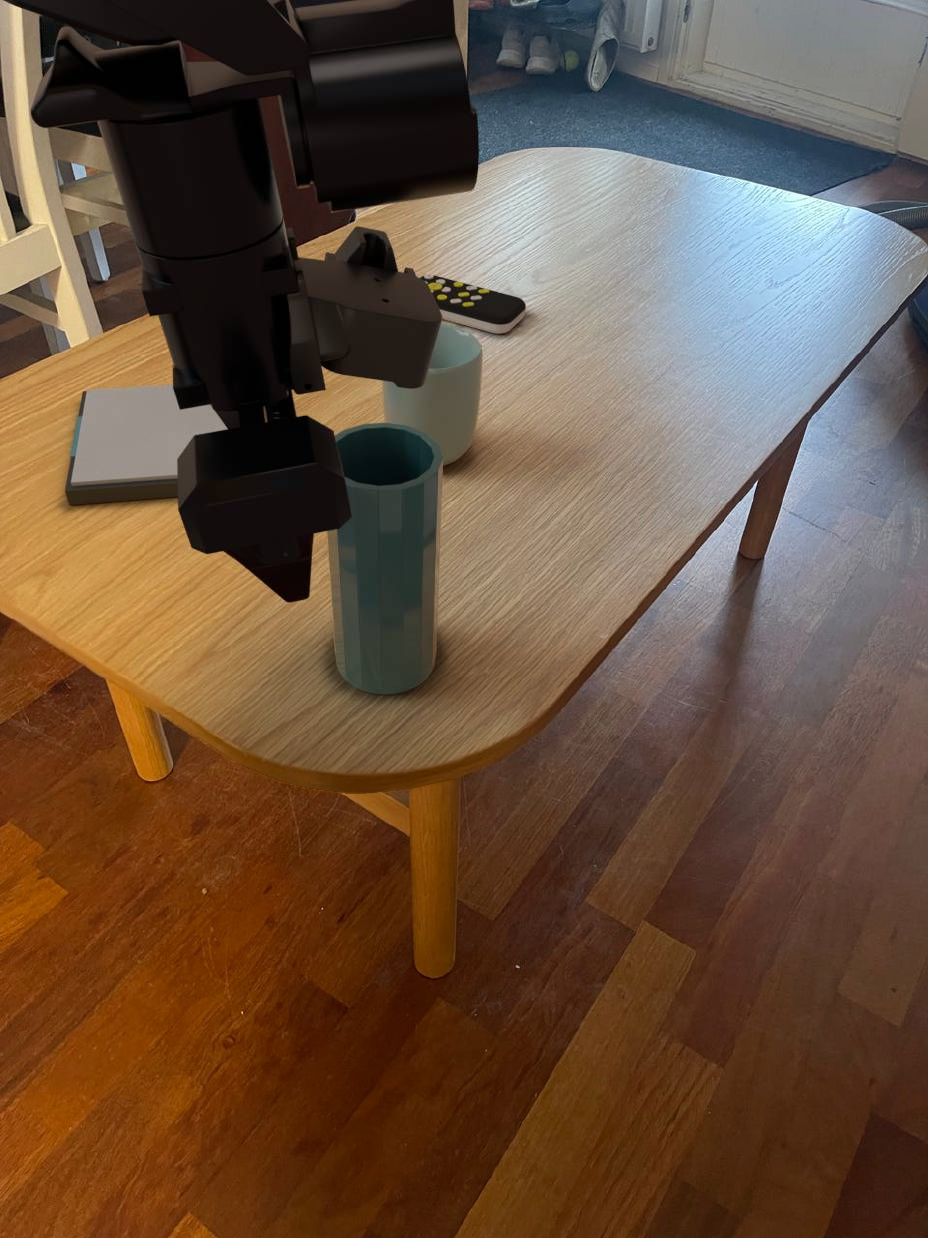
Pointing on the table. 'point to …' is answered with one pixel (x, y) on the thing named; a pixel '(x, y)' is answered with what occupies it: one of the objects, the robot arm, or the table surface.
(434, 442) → the tumbler
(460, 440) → the cup
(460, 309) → the remote control
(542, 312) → the table surface
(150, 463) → the scale
